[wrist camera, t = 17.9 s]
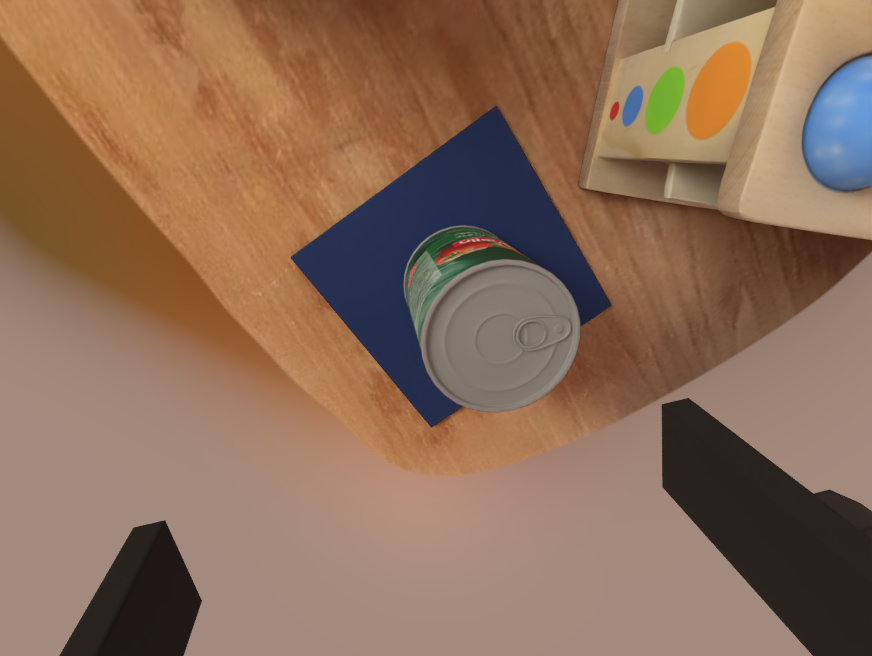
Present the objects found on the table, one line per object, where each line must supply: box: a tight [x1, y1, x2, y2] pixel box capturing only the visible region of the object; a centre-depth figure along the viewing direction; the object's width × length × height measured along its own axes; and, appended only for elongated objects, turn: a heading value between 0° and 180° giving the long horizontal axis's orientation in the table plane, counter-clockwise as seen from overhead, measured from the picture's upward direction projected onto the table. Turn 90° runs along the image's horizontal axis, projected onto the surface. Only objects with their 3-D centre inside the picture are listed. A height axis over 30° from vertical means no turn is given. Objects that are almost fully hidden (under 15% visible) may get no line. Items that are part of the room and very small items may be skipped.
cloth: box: [291, 106, 611, 427], centre depth 35 cm, size 16×16×1 cm
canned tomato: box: [403, 225, 580, 412], centre depth 30 cm, size 8×8×11 cm
